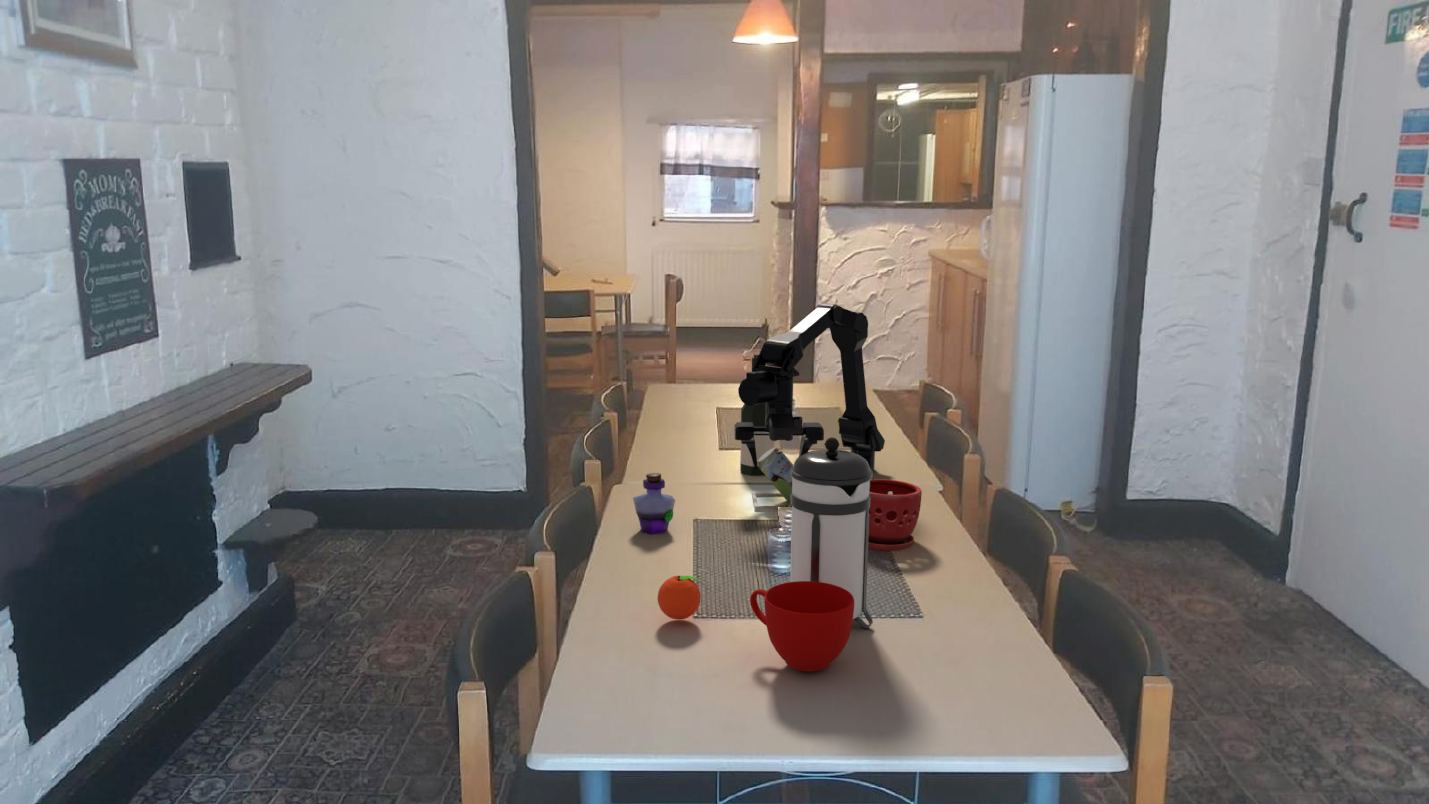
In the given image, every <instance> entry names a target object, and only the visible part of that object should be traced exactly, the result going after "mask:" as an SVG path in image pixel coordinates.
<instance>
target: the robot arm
mask: <svg viewBox="0 0 1429 804" xmlns="http://www.w3.org/2000/svg"><path fill="white" fill-rule="evenodd" d="M868 328H869V320H868V317H867V315H865V314H864V312H861V311H859V312H858V311H853V310H849V309H846V308H843V307H842V306H840V305H838V304H835V303H827V302H826V303H824V302H822V303H819V304H817V306H816V308H815V309H814V310H812V312H810V313H809V314H808V315H807V316H805V318H803V319H802V320H801V321H799V322H798V323H797V324H796V325H795V326H794V327H792V328H791V329H790V330H789V331H787V332H784V333H780V334H776V335H774V336H773V337H770V338H768V339H767V340H765V341H764V343H763V345H762V347H761V350H760V351H759V352H758V353H759V356H758V358H757V360H756V362H755V364H754V367H753V369H752V368H751V371H747V372H746V373H745V375H746V376H745V377H746V378H744V379H742V381H741V382H740V384H739V386H738V389H737V390H738V392H737V393H738V397H739V399H740V401H741V402H742V403H743V405H744V404H746V405H748V406H753V405H757V404H762V403H766V418H765V427H754V426H753V422H741V421H737V422H736V423H734V426H733V429H734V431H733V434H734V439H735V440H736V441H740V444H741V443H742V444H746V445H747V447H748V449H749V452H750V454H751V457H752V461H753V464H754V467H755V471H757V456H756V447H755V440H754V435H769V437H770V440H772V441H774V442H777V441H787V442H791V441H792V440H793V438H794V437H796V436H797V437H798V436H799V437H800V442H799V443H800V444H799V453H798V457H799V456H800V455H802V454H804V453H806V452H810V449H811V448H812V446H813V445H817V444H818V441H825V440H824V439H825V429H824V427H823V426H822V424H821V423H820V422H803V416H793V413H794V412H793V409H794V408H793V407H794V378H795V377H799V376H800V372H799V371H798V370H797V369H795V367H796V366H797V365H798V363H799V362H800V361H801V360H802V358H803V357H804V350H805V349H806V348H807V347H808V346H809V345H810V344H811V343H812V342H814V341H815V340H816V339H817V338H818V337H820V336H821V335H822V334H824V332H825V331H826V330H828V329H829V331H830V336H831V340H832V341H833V343H834V344H835V345H836V347H837V349H838V350H839V353H840V354H839V355H840V362H841V372H842V382H843V383H842V384H843V392H844V393H843V394H844V403H845V404H844V405H845V410H844V412H843V414H842V416H840V417H838V420H837V423H838V434H839V435H840V438H841V444H842V447H845V448H850V452H852V453H855V454H858V455H860V456H861V457H863V458H864V459H865V460H866V461H867V462H868V464H869V468H870V469H871V470H872V471H873V472H874V471H875V466H876V465H875V461H876V460H875V459H876V458H875V457H876V453H877V452H882V450H883V449H884V446H885V444H886V443H885V438H884V437H883V435H882V434H881V432H880V431H879V429H878V425H877V421H876V417H875V415H874V413H873V412H872V411H871V410H870V408H869V406H868V402H867V401H868V400H867V389H866V378H865V368H864V366H865V365H864V359H863V358H864V356H863V355H864V354H863V347H864V345H865V343H866V341H867V339H868V337H869V332H868V331H869V329H868ZM765 365H766V366H765Z"/></svg>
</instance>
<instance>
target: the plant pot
mask: <svg viewBox="0 0 1429 804" xmlns="http://www.w3.org/2000/svg"><path fill="white" fill-rule="evenodd" d="M869 492H870V494H871V501H870V508H869V537H868V550H869V549H870V550H876V551H887V552H888V551H889V552H890V551H892V552H893V551H900V550H904V549H907V548H910V547H911V546H912V545H913V544H914V542H915V538H914V536H913V535H912V534H913V532H914V530H915V528H916V526H917V523H918V519H919V516H920V513H921V512H920V510H921V505H922V494H923V493H922V492H923V491H922V489H921V488H920V487H919V486H917V485H915V484H913V483H909V482H906V481H902V480H897V479H896V480H894V479H885V478H883V479H881V478H879V479H877V478H874V479H873V478H871V480H870V487H869ZM889 492H890V493H893V494H892V495H888V493H889Z"/></svg>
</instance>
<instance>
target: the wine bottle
mask: <svg viewBox="0 0 1429 804" xmlns="http://www.w3.org/2000/svg"><path fill="white" fill-rule="evenodd" d="M759 353H760V352H758V353H753V357H752V356H751V370H752V369H753V367H754V364H755V362H756V360H757V358H758V356H759ZM765 366H767V365H765ZM765 418H766V403H762V404H757V405H753V406H748V405H746V404H744V403H743V404H742V407H741V408H740V422H753V426H754V427H765ZM754 440H755V447H756V456H757V461H758V459H759V458H760V457H761V456H762V455H763V454H764V453H765V452H766V451H768V450H769V449H771V448H773V447H775V441H772V440H770V437H769V435H754ZM739 457H740V474H742V475H747V476H751V477H756V476H757V477H758V476H759V477H760V476H761V477H764V476H765V477H766V475H765V474H764V473H763V472H762V471H761V469H760V468H759V463H758V462H757V471H755V467H754V464H753V461H752V457H751V454H750V452H749V449H748V447H747V445H746V444H742V443H741V442H740V456H739Z"/></svg>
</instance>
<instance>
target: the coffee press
mask: <svg viewBox="0 0 1429 804" xmlns="http://www.w3.org/2000/svg"><path fill="white" fill-rule="evenodd" d="M823 445H824V447H825V449H816V450H815V449H814V450H809V451H808V452H806V453H804V454H802V455H800V456H799V455H798V457H796V459H795V461H794V463H793V466H792V467H791V468H790V475H791V477H792V490H791V501H790V506H792V510H791V519H790V521H791V522H790V524H791V525H790V528H791V529H790V531H791V532H790V565H789V567H790V571H789V573H790V574H789V576H790V577H789V582H796V581H813V582H822V583H828V584H832V585H836V586H839V587H841V588H843V589H845V590H847V591H848V592H850V593H851V594H852V595H853V598H854V613H853V621H856V622H857V623H858V624H859V625H860V626H861V627H862V628H863V629H865V630H866V629H870V627H871V626H872V625H873V623H874V621H873V618H872V617H871V615H870V613H869V612H868V608H867V592H868V591H867V589H868V588H867V587H868V563H869V562H868V560H869V558H868V557H869V548H868V537H869V508H870V501H871V494H870V492H869V487H870V480H871V479H873V476H874V475H873V472H874V471H872V470H871V469H870V468H869V464H868V462H867V461H866V460H865V459H864V458H863V457H861V456H860V455H858V454H855V453H852V452H851V451H849V450H842V449H839V446H840V442H839V440H838V439H837V438H836V437H833V436H832V437H829V438H827V439H826V440H825V443H824V444H823ZM862 613H863V615H864V617H865V619H866V620H867V621H868V624H867V623H866V622H865V621H864V620H863V619H862V618H861V617H860V616H861V615H862Z"/></svg>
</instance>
